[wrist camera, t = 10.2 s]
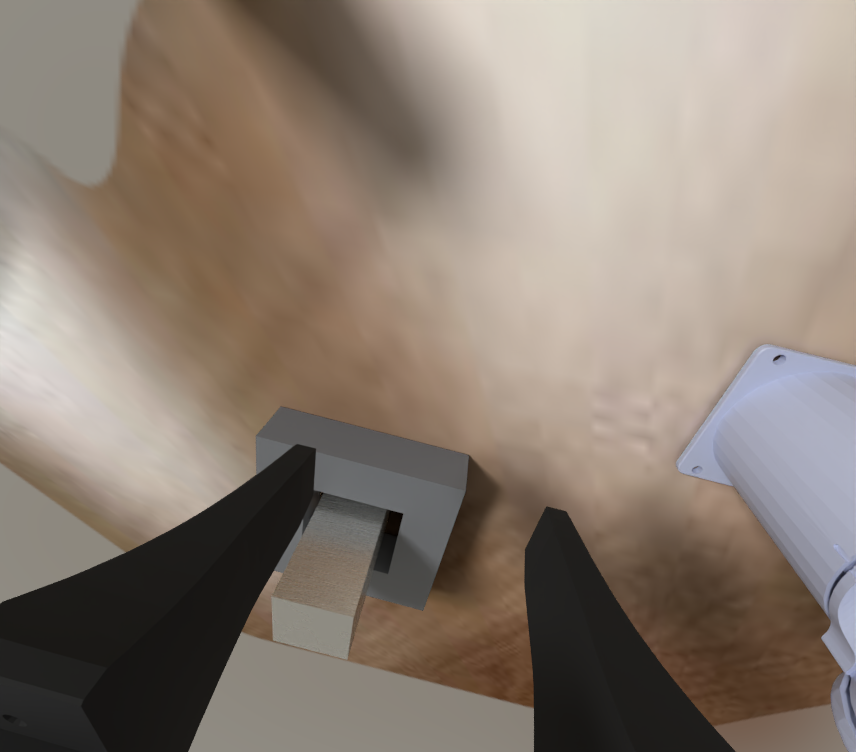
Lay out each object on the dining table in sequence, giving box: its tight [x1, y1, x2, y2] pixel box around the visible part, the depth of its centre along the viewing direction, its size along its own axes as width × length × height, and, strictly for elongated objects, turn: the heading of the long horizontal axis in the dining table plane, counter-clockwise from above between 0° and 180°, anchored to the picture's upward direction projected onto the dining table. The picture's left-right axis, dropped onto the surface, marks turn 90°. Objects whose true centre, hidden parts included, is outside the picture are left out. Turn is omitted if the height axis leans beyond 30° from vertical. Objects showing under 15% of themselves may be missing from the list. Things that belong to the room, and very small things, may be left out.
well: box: [256, 407, 469, 611], centre depth 26 cm, size 12×12×3 cm
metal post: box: [271, 493, 390, 659], centre depth 24 cm, size 4×4×9 cm
